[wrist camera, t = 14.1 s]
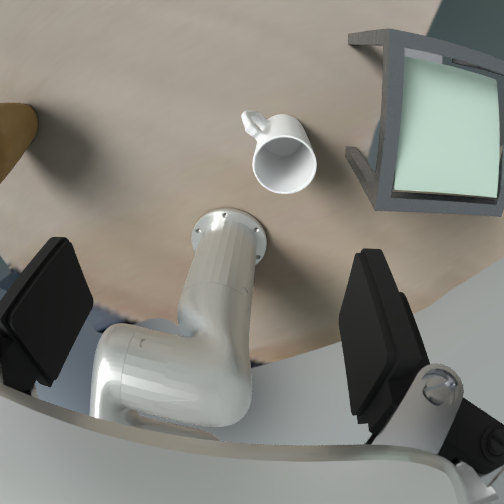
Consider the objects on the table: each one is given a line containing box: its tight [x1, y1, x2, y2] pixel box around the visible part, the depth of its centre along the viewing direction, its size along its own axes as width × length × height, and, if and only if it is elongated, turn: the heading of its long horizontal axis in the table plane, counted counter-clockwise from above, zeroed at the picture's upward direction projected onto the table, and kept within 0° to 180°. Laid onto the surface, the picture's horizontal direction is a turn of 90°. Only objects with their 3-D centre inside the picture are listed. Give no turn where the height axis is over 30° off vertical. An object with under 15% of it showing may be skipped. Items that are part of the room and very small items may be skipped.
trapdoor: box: [392, 56, 499, 198], centre depth 26 cm, size 14×14×1 cm
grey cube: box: [404, 48, 442, 64], centre depth 31 cm, size 6×6×6 cm
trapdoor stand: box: [345, 29, 504, 217], centre depth 30 cm, size 18×18×16 cm
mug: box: [242, 110, 317, 194], centre depth 36 cm, size 10×7×12 cm, turn 46°
